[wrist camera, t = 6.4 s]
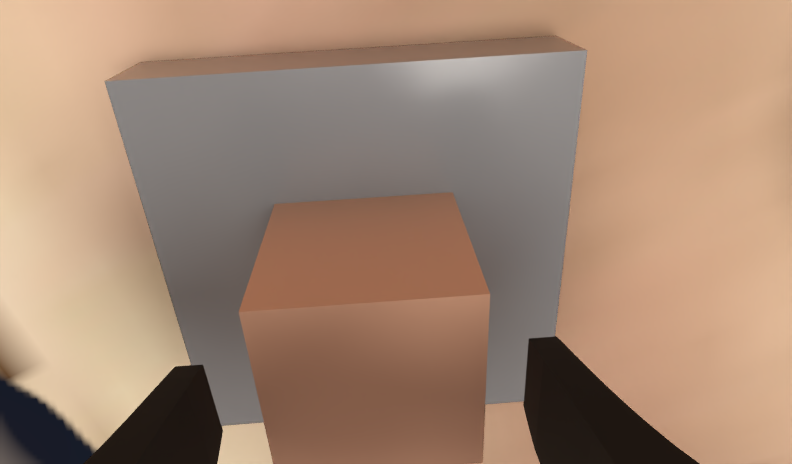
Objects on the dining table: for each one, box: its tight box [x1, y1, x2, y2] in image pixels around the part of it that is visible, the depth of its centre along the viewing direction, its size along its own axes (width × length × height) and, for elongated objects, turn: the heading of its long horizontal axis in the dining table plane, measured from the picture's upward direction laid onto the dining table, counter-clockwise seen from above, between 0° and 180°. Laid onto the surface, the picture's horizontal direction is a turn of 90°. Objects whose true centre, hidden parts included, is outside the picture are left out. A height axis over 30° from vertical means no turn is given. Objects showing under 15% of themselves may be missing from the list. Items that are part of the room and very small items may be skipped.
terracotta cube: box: [239, 192, 490, 464], centre depth 14 cm, size 5×5×5 cm
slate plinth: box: [105, 36, 587, 426], centre depth 17 cm, size 12×12×3 cm
